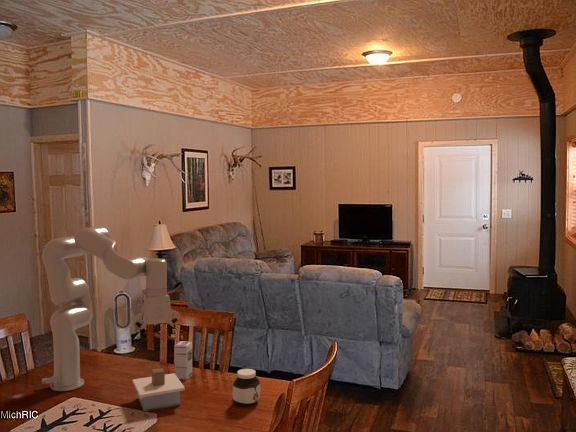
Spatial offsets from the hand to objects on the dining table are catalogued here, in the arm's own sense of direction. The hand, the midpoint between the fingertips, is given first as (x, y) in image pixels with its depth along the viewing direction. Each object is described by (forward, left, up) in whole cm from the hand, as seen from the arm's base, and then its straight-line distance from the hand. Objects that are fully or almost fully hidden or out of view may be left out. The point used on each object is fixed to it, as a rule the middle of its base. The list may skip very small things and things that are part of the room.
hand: (156, 337), depth 196 cm
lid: (0, -1, -18) cm, 18 cm away
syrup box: (+15, +20, -25) cm, 35 cm away
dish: (0, -1, -24) cm, 24 cm away
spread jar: (+30, -13, -25) cm, 41 cm away
